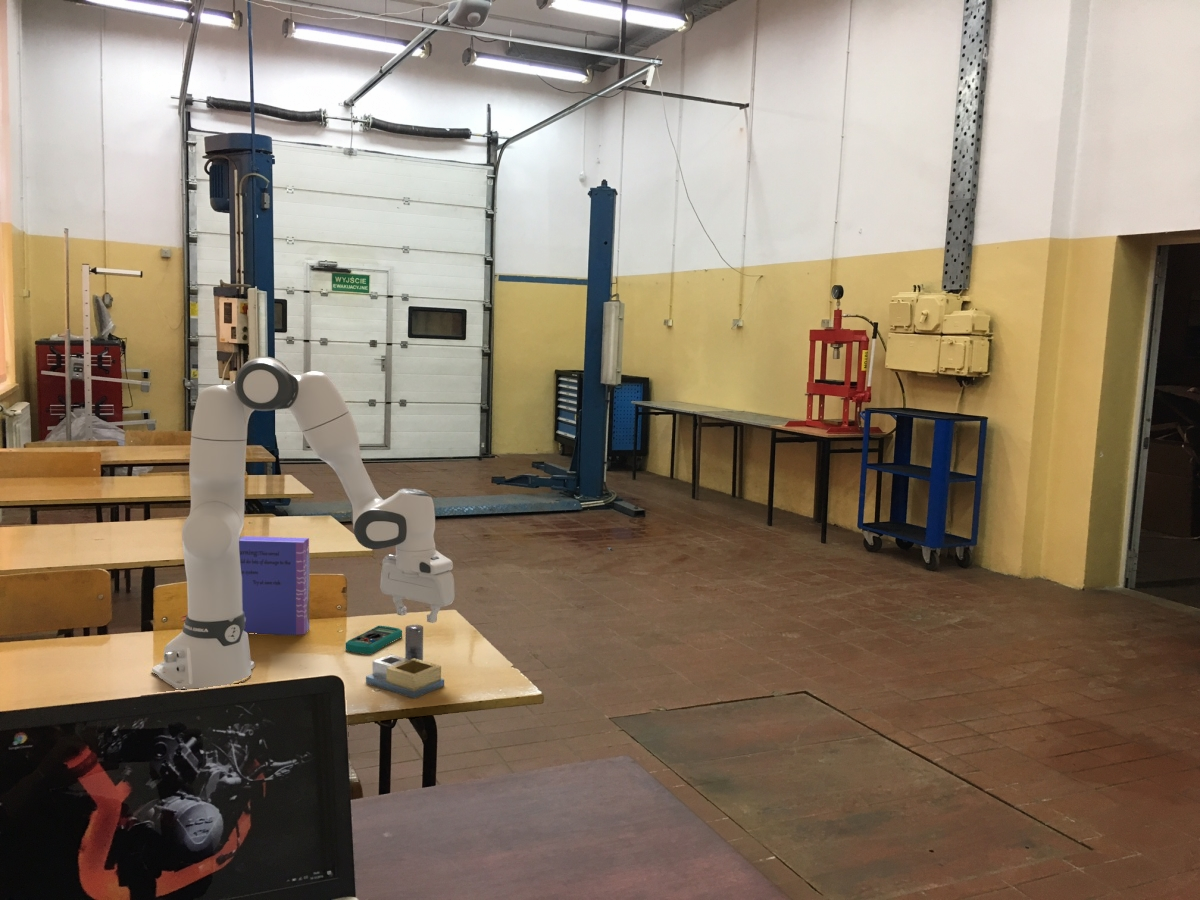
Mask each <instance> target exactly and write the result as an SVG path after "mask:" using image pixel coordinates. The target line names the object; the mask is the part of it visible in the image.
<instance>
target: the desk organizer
mask: <svg viewBox="0 0 1200 900" xmlns="http://www.w3.org/2000/svg"><path fill="white" fill-rule="evenodd" d="M365 683H366V684H367V683H368V684H367V685H370V684H371V686H375V687H376V688H377V687H378V688H381V689H382V690H386V691H390V692H393V693H396V694H400V695H402V696H405V697H408V698H411V699H417V698H419V697H421V696H424V695H426V694H429V693H430V692H433V691H436V690H439V689H440V688H443V687H444V686H445V678H442V665H439V664H436V663H432V662H430V661H429V662H428V661H425V660H423V661H422V660H419V659H415V658H412V659H410V660H409V659H405V657H403V656H402V657H401V656H398V655H394V654H388V655H386V656H383V657H380V658H377V659H374V660H372V673H371V674H370V675H369V674H368V675H367V676H366V677H365Z"/></svg>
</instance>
